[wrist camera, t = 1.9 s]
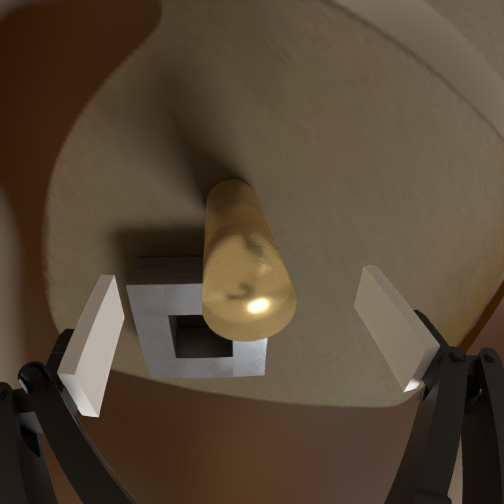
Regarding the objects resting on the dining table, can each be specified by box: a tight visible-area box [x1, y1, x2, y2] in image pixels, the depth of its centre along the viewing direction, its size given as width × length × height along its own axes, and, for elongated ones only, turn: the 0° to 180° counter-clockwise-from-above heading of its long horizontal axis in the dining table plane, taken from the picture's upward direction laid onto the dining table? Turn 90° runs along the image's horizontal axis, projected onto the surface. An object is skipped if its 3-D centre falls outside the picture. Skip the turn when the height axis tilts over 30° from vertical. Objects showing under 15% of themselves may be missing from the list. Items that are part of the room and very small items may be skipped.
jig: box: [126, 256, 267, 378], centre depth 29 cm, size 12×12×4 cm
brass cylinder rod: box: [202, 179, 297, 342], centre depth 20 cm, size 4×4×14 cm
